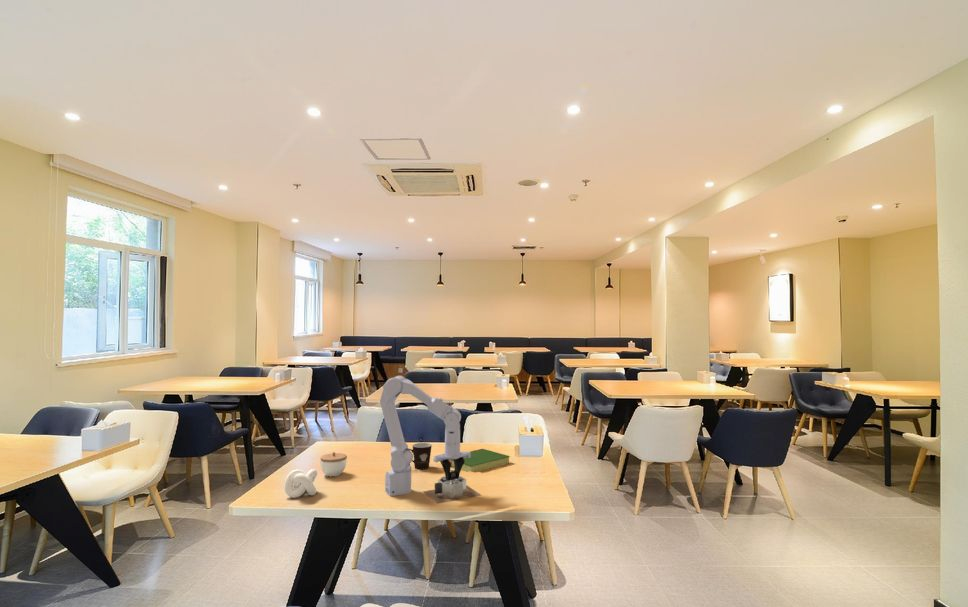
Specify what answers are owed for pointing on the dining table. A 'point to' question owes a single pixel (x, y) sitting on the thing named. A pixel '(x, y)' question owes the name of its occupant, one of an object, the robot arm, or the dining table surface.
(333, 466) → the lidded jar
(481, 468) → the hardcover book
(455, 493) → the silver octagonal piece
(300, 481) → the white knot ornament
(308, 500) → the dining table surface
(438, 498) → the serving board
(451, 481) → the grey knobbed lid
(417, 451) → the coffee mug
